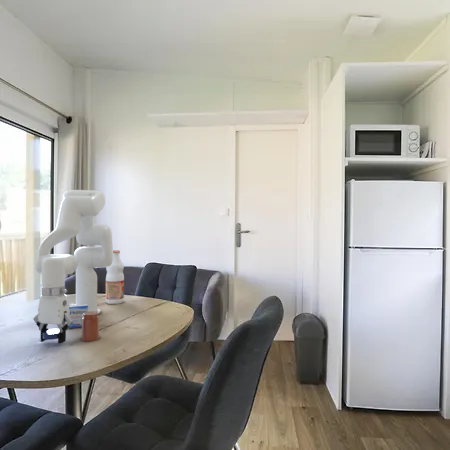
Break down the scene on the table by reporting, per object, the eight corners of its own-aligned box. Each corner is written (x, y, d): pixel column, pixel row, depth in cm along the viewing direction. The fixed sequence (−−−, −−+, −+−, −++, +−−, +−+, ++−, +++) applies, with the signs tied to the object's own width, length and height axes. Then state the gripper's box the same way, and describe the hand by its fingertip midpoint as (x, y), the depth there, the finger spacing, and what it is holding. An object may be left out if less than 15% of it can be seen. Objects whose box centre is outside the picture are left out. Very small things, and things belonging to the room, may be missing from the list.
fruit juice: (102, 302, 200) (102, 250, 199) (118, 299, 206) (118, 249, 206) (110, 305, 193) (111, 251, 193) (127, 302, 200) (127, 250, 199)
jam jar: (78, 340, 136) (78, 314, 136) (88, 335, 142) (88, 310, 142) (92, 341, 135) (92, 315, 135) (102, 336, 141) (102, 311, 141)
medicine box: (67, 328, 151) (67, 307, 151) (66, 325, 155) (67, 305, 155) (88, 326, 155) (88, 305, 155) (86, 323, 159) (87, 303, 159)
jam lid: (50, 333, 136) (50, 328, 136) (67, 334, 135) (67, 329, 135) (38, 339, 129) (38, 333, 129) (56, 340, 128) (56, 334, 128)
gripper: (81, 291, 133) (80, 340, 134) (40, 288, 138) (40, 336, 138) (67, 295, 126) (67, 347, 126) (24, 292, 130) (24, 342, 131)
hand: (53, 341), depth 132 cm, fingers closed on jam lid, 6 cm apart
